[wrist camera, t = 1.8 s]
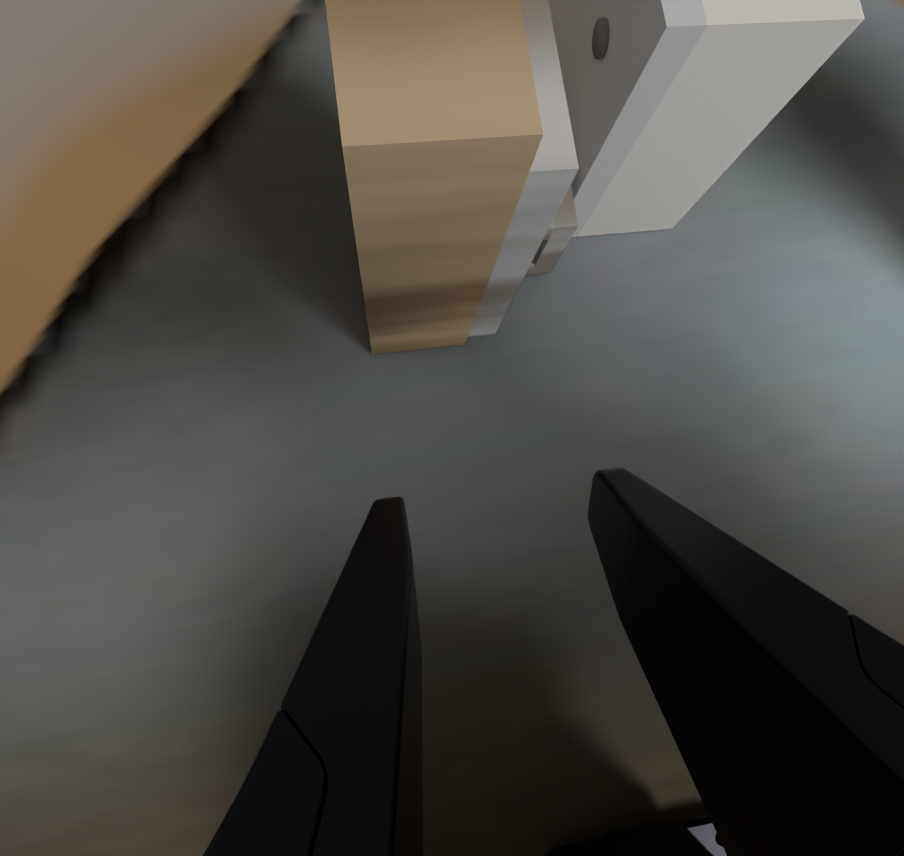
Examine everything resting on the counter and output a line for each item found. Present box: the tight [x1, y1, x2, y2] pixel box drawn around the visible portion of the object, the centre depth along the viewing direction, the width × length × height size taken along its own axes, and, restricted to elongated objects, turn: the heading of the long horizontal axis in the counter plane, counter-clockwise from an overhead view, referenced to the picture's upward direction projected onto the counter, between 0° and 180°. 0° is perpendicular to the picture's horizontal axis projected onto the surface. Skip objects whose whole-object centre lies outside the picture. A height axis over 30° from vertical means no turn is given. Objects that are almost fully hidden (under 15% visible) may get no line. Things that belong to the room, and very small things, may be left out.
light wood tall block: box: [325, 0, 579, 354], centre depth 17 cm, size 5×7×12 cm
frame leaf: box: [548, 0, 865, 237], centre depth 19 cm, size 9×9×10 cm
